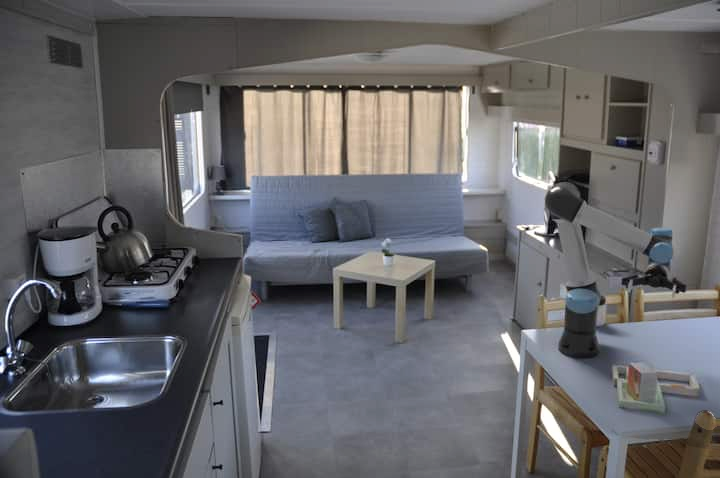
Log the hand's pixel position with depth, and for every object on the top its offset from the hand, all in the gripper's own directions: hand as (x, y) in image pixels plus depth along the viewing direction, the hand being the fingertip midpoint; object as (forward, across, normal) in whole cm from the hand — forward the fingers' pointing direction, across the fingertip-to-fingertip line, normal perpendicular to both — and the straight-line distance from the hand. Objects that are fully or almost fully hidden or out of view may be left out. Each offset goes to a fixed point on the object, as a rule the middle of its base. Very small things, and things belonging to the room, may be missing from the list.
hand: (650, 291), depth 204 cm
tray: (+17, 0, -32) cm, 36 cm away
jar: (-49, +24, -32) cm, 63 cm away
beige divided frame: (+2, -4, -32) cm, 32 cm away
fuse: (+3, +3, -32) cm, 32 cm away
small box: (+17, -1, -31) cm, 36 cm away
